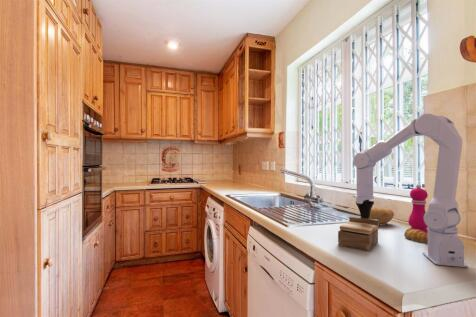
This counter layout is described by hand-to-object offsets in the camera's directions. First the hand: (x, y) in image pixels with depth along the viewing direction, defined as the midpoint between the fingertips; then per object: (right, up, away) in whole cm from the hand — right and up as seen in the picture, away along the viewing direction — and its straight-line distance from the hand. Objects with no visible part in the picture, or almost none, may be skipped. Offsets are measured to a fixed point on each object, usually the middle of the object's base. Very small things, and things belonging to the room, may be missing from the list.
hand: (365, 220), depth 101 cm
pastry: (+20, -7, -1) cm, 21 cm away
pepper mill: (+25, -7, +7) cm, 27 cm away
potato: (+17, -7, +22) cm, 29 cm away
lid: (-5, -2, -5) cm, 7 cm away
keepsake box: (-6, -7, -6) cm, 11 cm away
